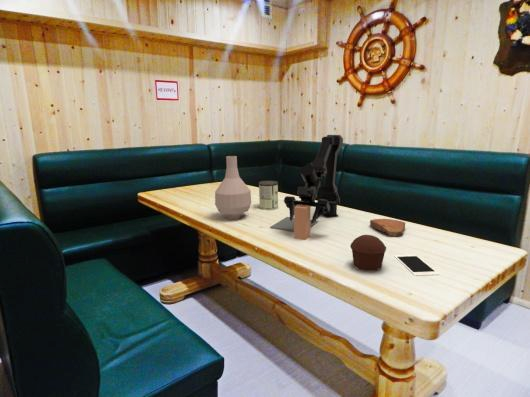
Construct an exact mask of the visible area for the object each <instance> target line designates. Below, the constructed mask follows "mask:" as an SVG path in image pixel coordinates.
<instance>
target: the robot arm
mask: <svg viewBox="0 0 530 397" xmlns="http://www.w3.org/2000/svg"><path fill="white" fill-rule="evenodd" d="M343 144H344V138H343V136H342V135H340V134H327V135H326V136H323V137H322V138H321V143H320V146H319V150H318V152H317V154H316V157H315V159H314V160H312V161H311V162H307V163H306V164H305V165H303V166H301V168H300V170H299V173H300V175H301V178H302V179H303V181H304V183H305V186H298V187H297V192H296V193H297V196H298V198H299V199H300V200H299V199H296V197H295V196H288V195H286V196H284V199H283V202H284V204H285V206H286V207H287V208H288V209H289V217H290V221H292V219H293V218H294V207H295V206H297V205H299V204H300V205H310V206H311V207H310V208H312V207H313V208H315V209H314V213H313V216H312V218H311V220H312V221H311V223H312V224H313V223H314V222H315V221H318V219H319V218H321V217H322V216H323V217H325V218H334V217H339V215H338V209H337V208H338V205H341V204H340V203H341V198H340V196H339V193H338V187H337V185H336V183H335V182H336V172H337V171H336V170H337V161H338V154H339V152H340V151H341V149H342V146H343ZM324 178H325V179H324ZM320 179H324V184H322V185H321V180H320ZM319 189H320V190H319ZM318 193H319V195H318ZM318 196H319V199H317V198H318ZM316 199H317V201H316Z"/></svg>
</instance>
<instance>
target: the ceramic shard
mask: <svg viewBox="0 0 530 397" xmlns="http://www.w3.org/2000/svg"><path fill="white" fill-rule="evenodd" d="M369 223H370V227H371V228H372V229H375V230H378V231H380V232H383V233H385V234H386V235H387V236H388V237H399V236H404V230H405V227H406V222H404V221H402V220H397V219H392V218H391V219H390V218H374V219H371V220H370V219H369Z"/></svg>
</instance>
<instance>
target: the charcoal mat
mask: <svg viewBox="0 0 530 397" xmlns="http://www.w3.org/2000/svg"><path fill="white" fill-rule="evenodd" d="M311 221H312V219H310V229H311V228H312V227H313V226H315V225H316V224H317V223H318V222H319V220H316V221H315V222H314V223H313V224H312V223H311ZM269 229H274V230H281V231H287V232H293V233H294V217H293V219H292V221H290V216H286V217H284V218H283V219H281V220H279V221H278V222H276V223H274V224H273V225H270V227H269Z"/></svg>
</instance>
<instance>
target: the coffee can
mask: <svg viewBox="0 0 530 397" xmlns="http://www.w3.org/2000/svg"><path fill="white" fill-rule="evenodd" d="M278 188H279V181H276V180H261V181H259V182H258V190H259V193H258V194H259V195H258V197H259V209H260V210H263V211H273V210H277V209H279V191H278V190H279V189H278Z"/></svg>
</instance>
